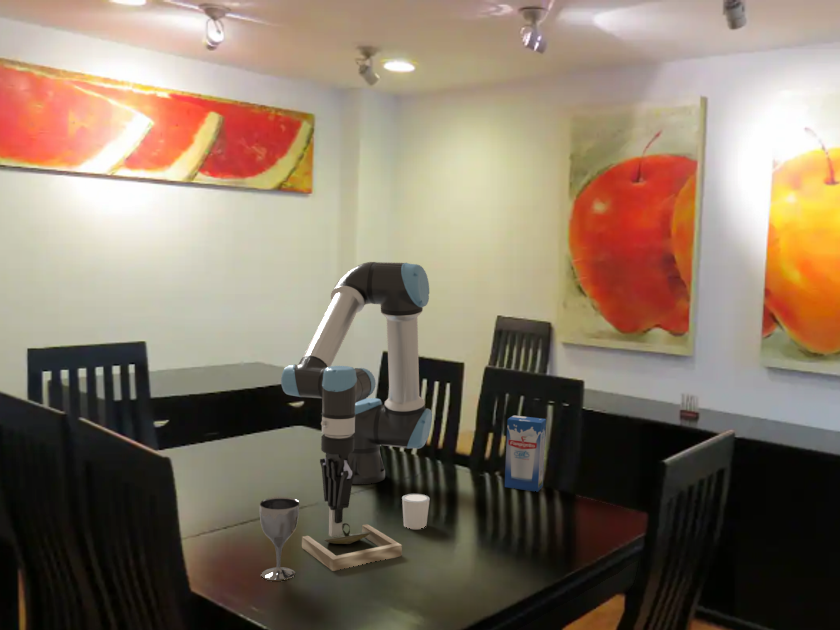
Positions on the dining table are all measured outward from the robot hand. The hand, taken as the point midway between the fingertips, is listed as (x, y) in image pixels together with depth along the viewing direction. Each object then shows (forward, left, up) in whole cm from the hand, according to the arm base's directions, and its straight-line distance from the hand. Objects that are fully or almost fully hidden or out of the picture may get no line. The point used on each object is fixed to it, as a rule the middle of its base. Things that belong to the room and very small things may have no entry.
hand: (335, 534), depth 181 cm
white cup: (-22, 0, -2) cm, 22 cm away
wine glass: (+19, +11, -2) cm, 22 cm away
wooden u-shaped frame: (0, +7, -1) cm, 7 cm away
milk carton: (-68, -12, -2) cm, 69 cm away
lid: (-1, +4, -2) cm, 4 cm away
